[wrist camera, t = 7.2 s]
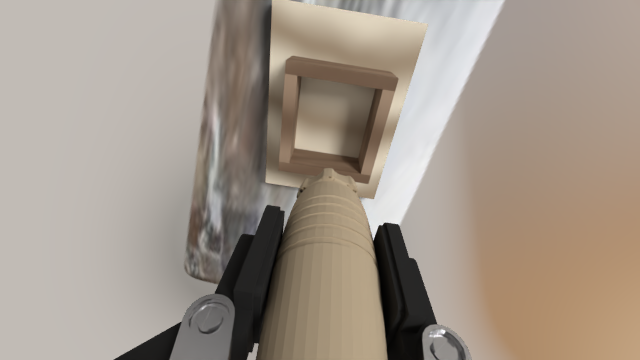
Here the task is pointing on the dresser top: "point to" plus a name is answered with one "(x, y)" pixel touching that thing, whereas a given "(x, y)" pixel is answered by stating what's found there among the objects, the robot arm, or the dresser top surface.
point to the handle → (325, 279)
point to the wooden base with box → (335, 91)
